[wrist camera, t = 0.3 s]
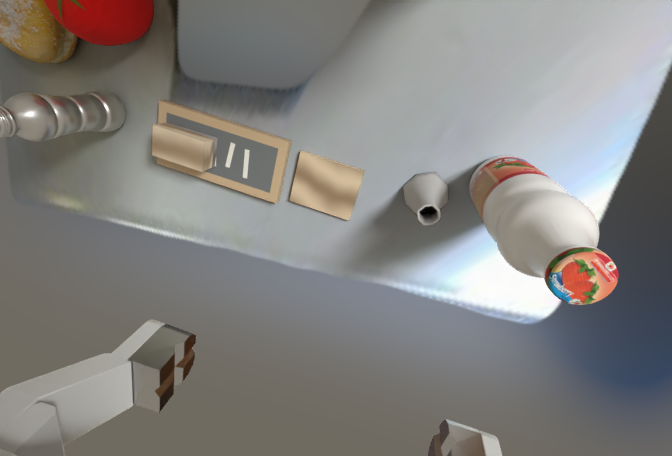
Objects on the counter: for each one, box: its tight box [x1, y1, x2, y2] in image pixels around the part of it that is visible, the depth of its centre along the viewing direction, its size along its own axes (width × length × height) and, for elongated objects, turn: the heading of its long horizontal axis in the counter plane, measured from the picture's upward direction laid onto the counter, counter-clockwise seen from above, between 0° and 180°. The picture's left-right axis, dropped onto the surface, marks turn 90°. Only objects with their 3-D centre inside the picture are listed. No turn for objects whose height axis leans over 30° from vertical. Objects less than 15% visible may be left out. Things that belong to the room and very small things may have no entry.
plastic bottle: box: [0, 91, 126, 142], centre depth 51 cm, size 6×7×20 cm
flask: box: [403, 172, 448, 226], centre depth 51 cm, size 7×7×10 cm
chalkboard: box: [157, 100, 292, 203], centre depth 58 cm, size 11×23×2 cm, turn 74°
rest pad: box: [289, 151, 365, 221], centre depth 58 cm, size 9×11×1 cm
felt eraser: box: [152, 122, 218, 172], centre depth 56 cm, size 5×9×4 cm, turn 74°
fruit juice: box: [469, 155, 618, 305], centre depth 40 cm, size 9×9×28 cm
